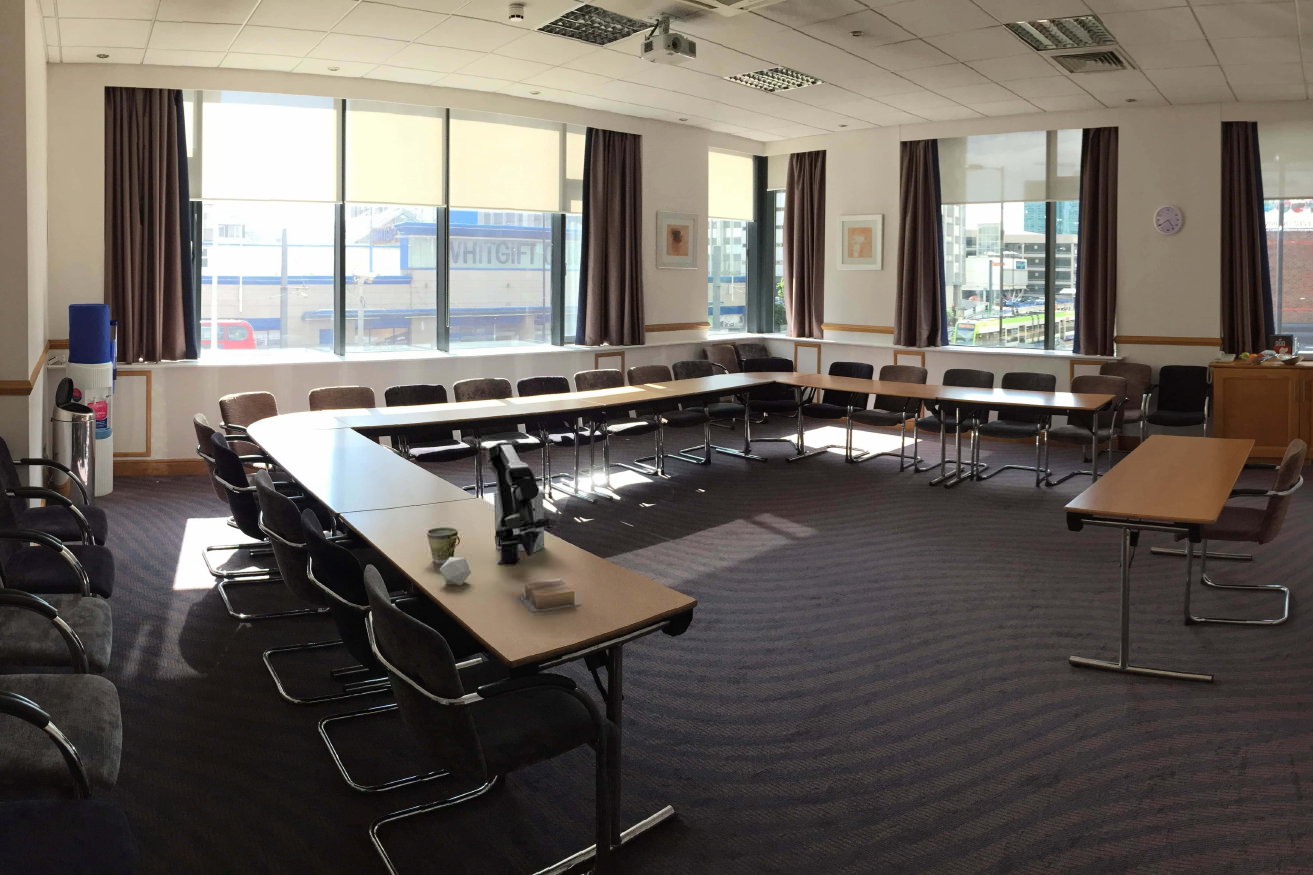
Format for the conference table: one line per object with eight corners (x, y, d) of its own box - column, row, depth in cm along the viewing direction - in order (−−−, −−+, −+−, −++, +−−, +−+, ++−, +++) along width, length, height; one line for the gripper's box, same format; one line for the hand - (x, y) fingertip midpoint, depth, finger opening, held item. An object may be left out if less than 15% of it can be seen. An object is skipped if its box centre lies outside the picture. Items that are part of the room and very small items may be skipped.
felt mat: (520, 599, 272) (520, 598, 271) (566, 592, 277) (566, 591, 277) (532, 612, 261) (532, 611, 261) (580, 605, 267) (580, 604, 267)
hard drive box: (545, 546, 326) (544, 490, 322) (536, 552, 318) (535, 495, 315) (504, 543, 330) (503, 488, 327) (494, 548, 323) (493, 492, 319)
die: (475, 582, 289) (464, 554, 292) (471, 576, 281) (460, 548, 283) (450, 593, 287) (439, 565, 290) (445, 588, 279) (434, 559, 282)
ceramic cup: (421, 561, 308) (420, 531, 306) (444, 554, 316) (443, 525, 315) (448, 568, 301) (447, 538, 299) (471, 560, 309) (470, 531, 307)
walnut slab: (524, 583, 272) (537, 596, 261) (560, 578, 277) (574, 590, 266) (524, 596, 273) (537, 609, 262) (560, 591, 277) (574, 604, 266)
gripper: (482, 510, 283) (489, 561, 280) (536, 497, 277) (543, 549, 273) (502, 512, 293) (508, 561, 290) (554, 500, 287) (561, 550, 283)
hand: (529, 555), depth 284 cm, fingers closed
